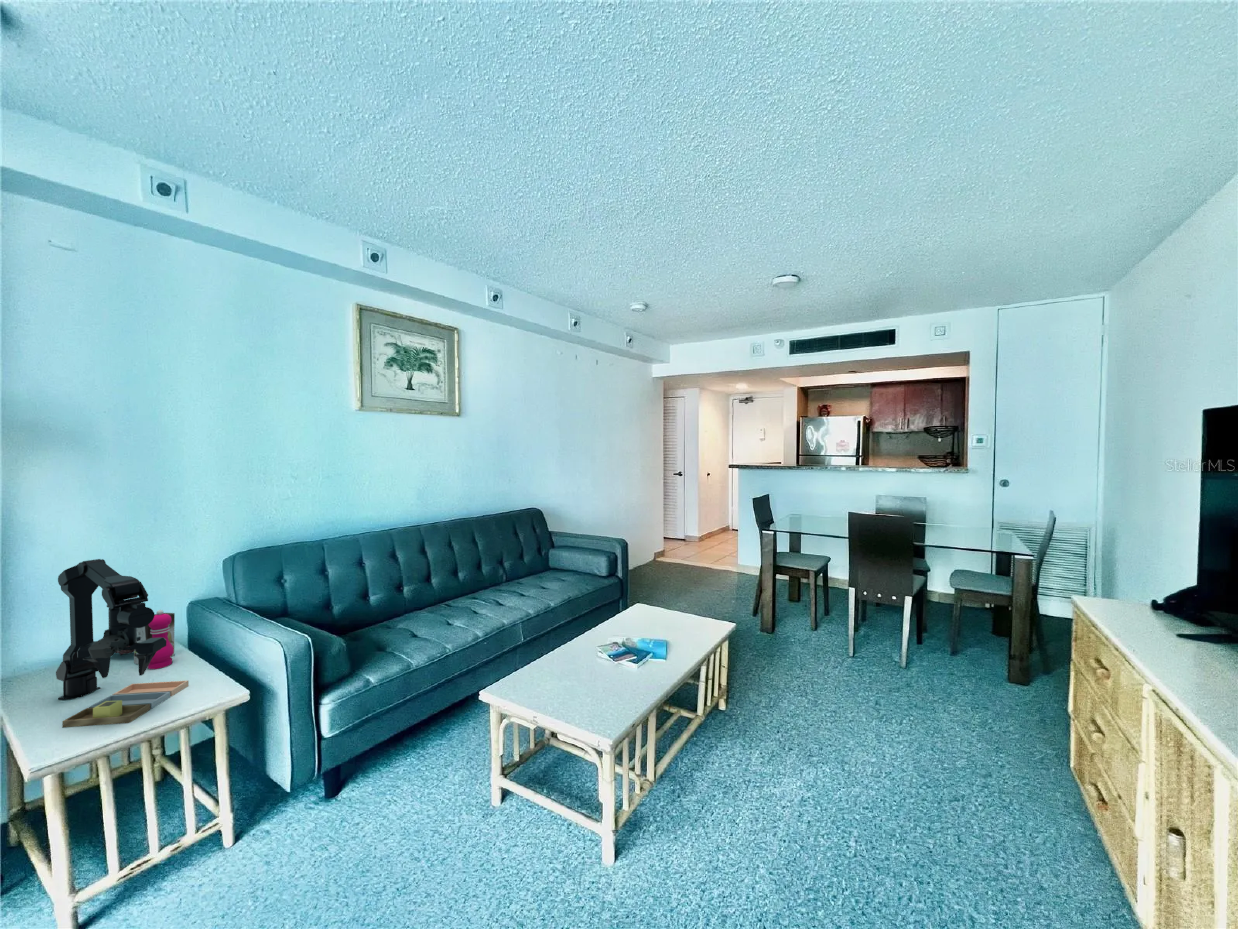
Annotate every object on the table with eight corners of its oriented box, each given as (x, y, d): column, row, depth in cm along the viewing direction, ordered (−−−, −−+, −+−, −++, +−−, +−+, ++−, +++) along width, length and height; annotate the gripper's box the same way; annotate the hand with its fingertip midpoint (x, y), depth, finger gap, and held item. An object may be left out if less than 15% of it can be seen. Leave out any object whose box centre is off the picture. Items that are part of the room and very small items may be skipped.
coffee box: (147, 665, 170) (146, 620, 169) (133, 664, 171) (133, 619, 171) (175, 655, 178) (175, 612, 178) (162, 654, 180) (162, 611, 180)
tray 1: (62, 729, 129) (62, 721, 129) (87, 715, 136) (86, 708, 136) (129, 724, 132) (129, 716, 132) (150, 711, 139) (150, 704, 139)
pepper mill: (146, 672, 164) (146, 614, 164) (145, 665, 169) (145, 610, 169) (175, 665, 170) (174, 609, 170) (172, 659, 175) (172, 605, 175)
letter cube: (92, 722, 132) (92, 708, 132) (106, 715, 136) (106, 700, 136) (109, 721, 132) (109, 707, 132) (122, 714, 136) (122, 699, 136)
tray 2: (88, 714, 137) (88, 707, 137) (110, 702, 144) (110, 695, 144) (151, 710, 139) (151, 703, 139) (170, 698, 146) (170, 691, 146)
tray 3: (112, 701, 144) (112, 694, 144) (132, 690, 151) (132, 683, 151) (171, 698, 147) (171, 690, 147) (188, 687, 154) (188, 680, 154)
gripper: (57, 635, 129) (58, 692, 129) (136, 630, 132) (137, 686, 132) (95, 621, 140) (95, 674, 140) (167, 617, 143) (168, 669, 143)
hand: (123, 676), depth 139 cm, fingers open, 9 cm apart
